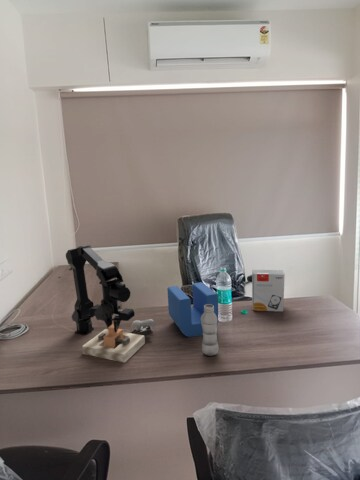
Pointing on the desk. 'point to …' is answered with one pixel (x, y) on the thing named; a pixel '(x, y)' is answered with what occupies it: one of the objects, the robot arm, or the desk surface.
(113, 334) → the wooden cross piece
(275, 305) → the hard drive box
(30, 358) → the desk surface
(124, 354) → the beige square frame
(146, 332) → the clip-on lamp
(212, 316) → the plastic bottle
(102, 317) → the robot arm
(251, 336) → the desk surface
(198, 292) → the block
